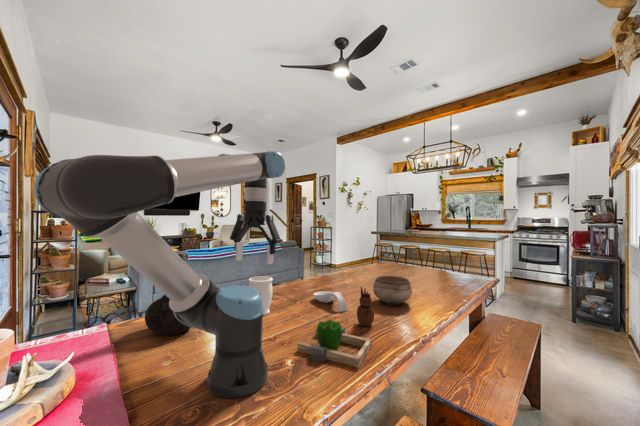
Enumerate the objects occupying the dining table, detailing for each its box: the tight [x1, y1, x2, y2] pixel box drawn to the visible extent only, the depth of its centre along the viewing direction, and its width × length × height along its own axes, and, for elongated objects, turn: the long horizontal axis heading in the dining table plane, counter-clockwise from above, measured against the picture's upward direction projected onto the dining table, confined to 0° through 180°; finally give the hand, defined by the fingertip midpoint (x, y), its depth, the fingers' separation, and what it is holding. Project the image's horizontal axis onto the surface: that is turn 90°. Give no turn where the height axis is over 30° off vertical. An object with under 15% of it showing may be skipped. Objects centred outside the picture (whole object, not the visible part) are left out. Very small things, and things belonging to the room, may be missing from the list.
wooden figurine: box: [356, 286, 375, 327], centre depth 109 cm, size 7×6×15 cm
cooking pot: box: [372, 274, 413, 306], centre depth 137 cm, size 25×19×12 cm
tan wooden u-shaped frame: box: [296, 327, 373, 369], centre depth 89 cm, size 18×20×4 cm
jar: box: [248, 275, 274, 316], centre depth 121 cm, size 11×10×15 cm
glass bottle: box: [144, 253, 192, 336], centre depth 101 cm, size 18×18×28 cm
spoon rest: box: [312, 290, 348, 313], centre depth 134 cm, size 24×12×7 cm, turn 28°
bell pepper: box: [316, 318, 343, 351], centre depth 90 cm, size 8×8×10 cm
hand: (254, 262), depth 95 cm, fingers open, 13 cm apart
